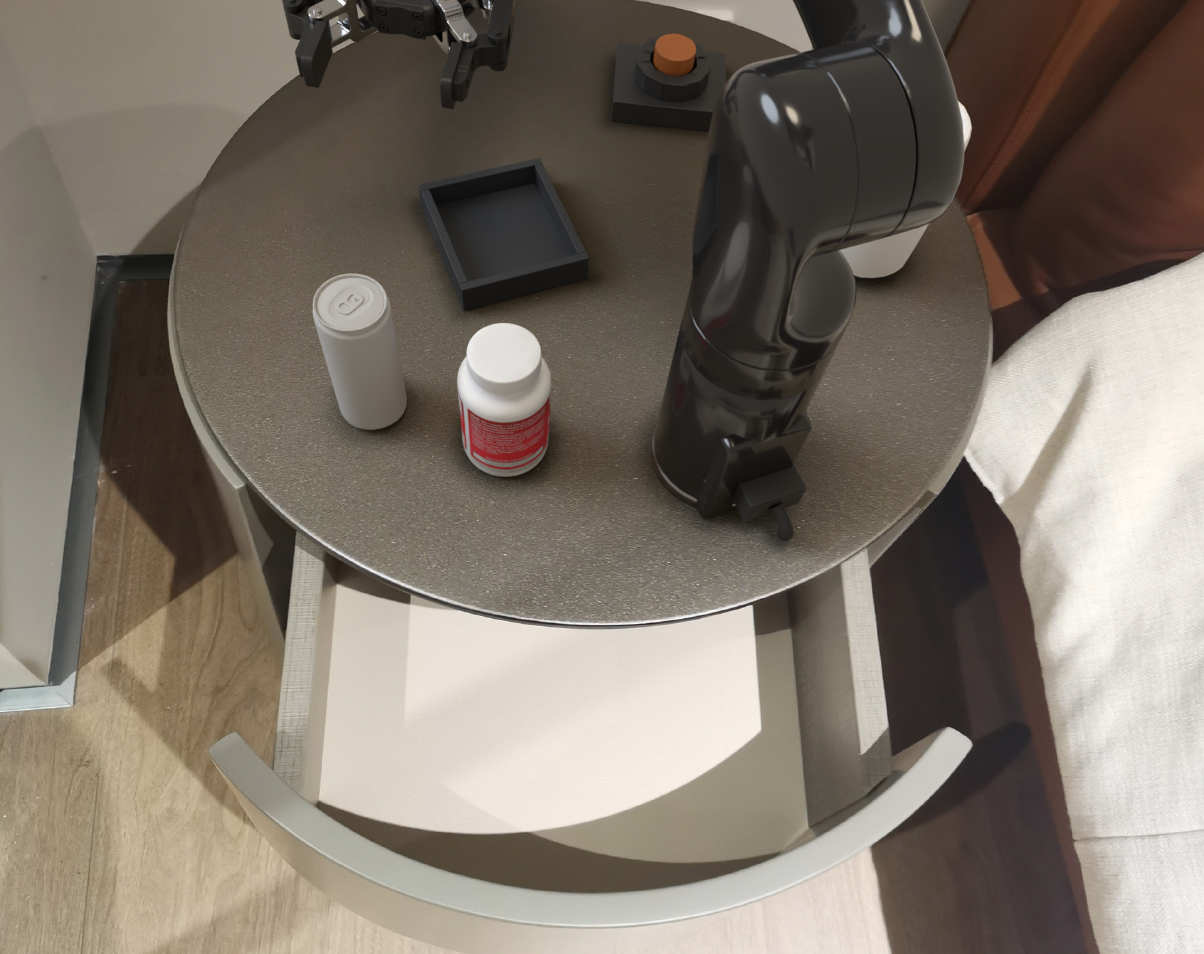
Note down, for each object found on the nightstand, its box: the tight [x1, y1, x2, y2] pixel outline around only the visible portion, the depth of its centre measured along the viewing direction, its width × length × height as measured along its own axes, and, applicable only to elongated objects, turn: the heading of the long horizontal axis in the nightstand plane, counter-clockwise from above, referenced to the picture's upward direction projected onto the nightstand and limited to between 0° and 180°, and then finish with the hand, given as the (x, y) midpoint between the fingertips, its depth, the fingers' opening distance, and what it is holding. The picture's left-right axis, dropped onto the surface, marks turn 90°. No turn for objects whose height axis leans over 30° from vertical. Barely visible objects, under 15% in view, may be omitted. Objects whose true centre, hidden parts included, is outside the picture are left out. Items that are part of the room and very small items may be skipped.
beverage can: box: [312, 273, 408, 431], centre depth 66 cm, size 5×5×12 cm
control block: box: [610, 34, 727, 132], centre depth 88 cm, size 10×8×4 cm
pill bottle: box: [456, 322, 552, 478], centre depth 66 cm, size 6×6×11 cm
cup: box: [840, 100, 973, 279], centre depth 76 cm, size 8×8×14 cm
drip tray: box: [418, 157, 590, 312], centre depth 79 cm, size 11×10×2 cm
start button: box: [653, 33, 696, 76], centre depth 86 cm, size 4×4×2 cm
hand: (378, 86), depth 60 cm, fingers open, 8 cm apart
